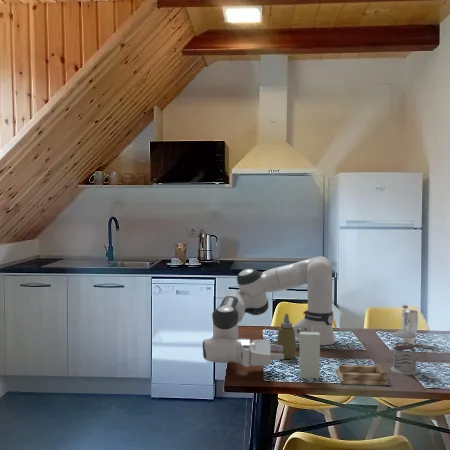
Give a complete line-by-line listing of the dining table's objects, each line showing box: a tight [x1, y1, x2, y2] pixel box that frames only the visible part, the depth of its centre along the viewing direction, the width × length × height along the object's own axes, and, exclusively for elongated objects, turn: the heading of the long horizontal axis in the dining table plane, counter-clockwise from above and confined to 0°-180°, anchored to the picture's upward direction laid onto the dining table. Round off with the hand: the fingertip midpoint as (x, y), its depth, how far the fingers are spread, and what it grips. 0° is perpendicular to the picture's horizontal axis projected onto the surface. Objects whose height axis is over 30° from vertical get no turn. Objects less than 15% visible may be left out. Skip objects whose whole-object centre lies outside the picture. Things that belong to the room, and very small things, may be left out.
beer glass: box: [401, 309, 419, 346], centre depth 217 cm, size 7×7×15 cm
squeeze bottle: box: [276, 313, 297, 360], centre depth 197 cm, size 8×8×18 cm
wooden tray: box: [335, 363, 389, 386], centre depth 173 cm, size 16×13×4 cm
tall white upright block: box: [298, 332, 321, 379], centre depth 174 cm, size 7×4×16 cm, turn 85°
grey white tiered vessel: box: [390, 304, 425, 376], centre depth 181 cm, size 10×12×25 cm
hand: (283, 352), depth 175 cm, fingers open, 8 cm apart
